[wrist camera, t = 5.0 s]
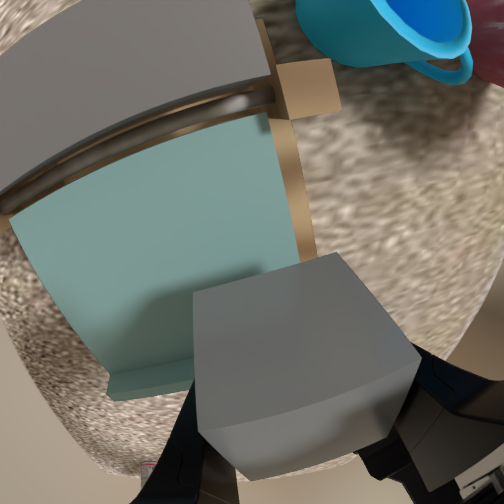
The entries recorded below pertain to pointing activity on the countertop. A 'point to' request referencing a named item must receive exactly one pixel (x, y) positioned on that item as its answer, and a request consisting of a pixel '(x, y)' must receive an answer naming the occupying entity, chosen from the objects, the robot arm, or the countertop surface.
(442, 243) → the countertop surface
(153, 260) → the trapdoor
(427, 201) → the countertop surface
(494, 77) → the plant pot
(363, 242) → the countertop surface
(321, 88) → the frame
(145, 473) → the pill bottle
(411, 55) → the mug
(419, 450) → the robot arm
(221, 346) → the gray cube
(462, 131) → the countertop surface
